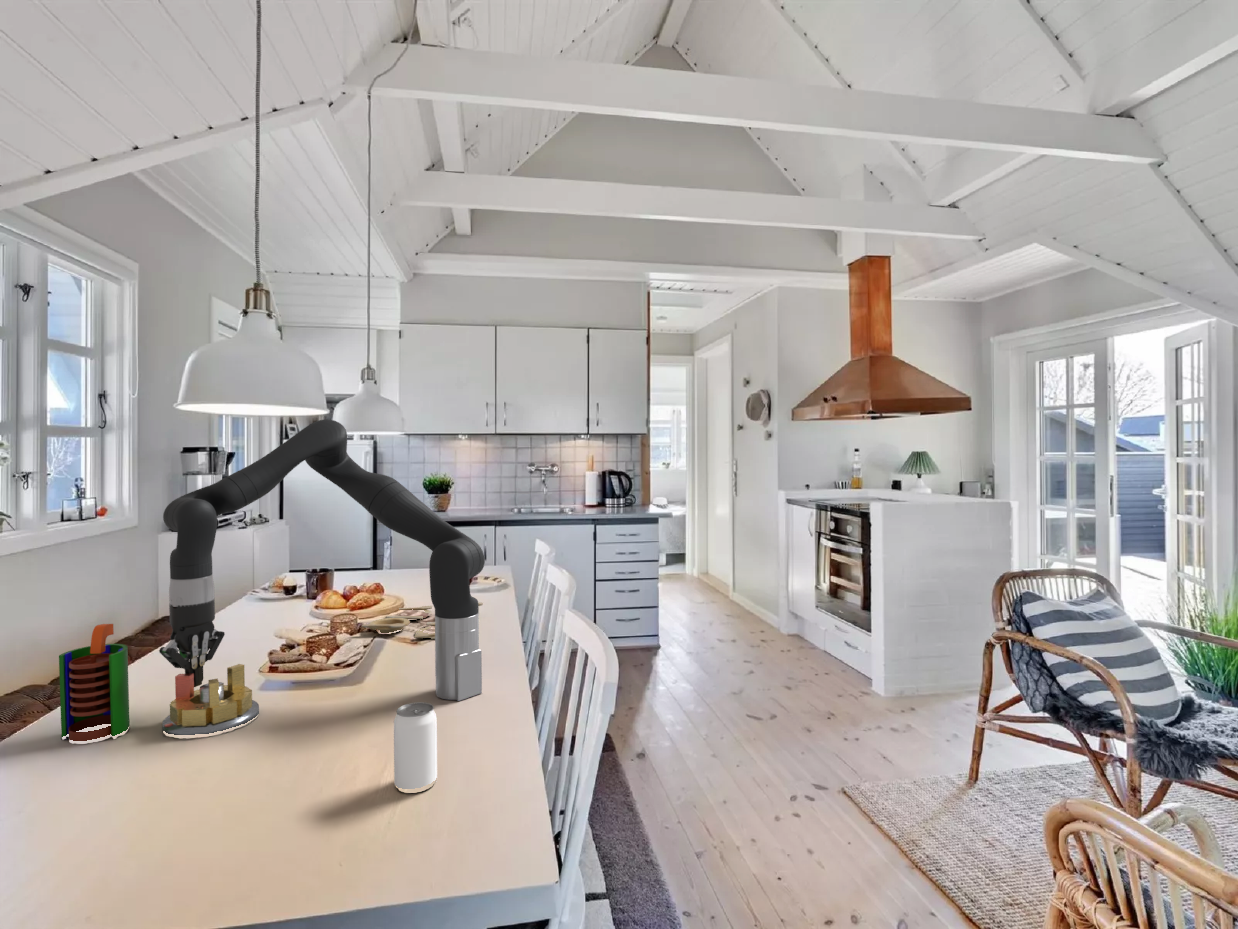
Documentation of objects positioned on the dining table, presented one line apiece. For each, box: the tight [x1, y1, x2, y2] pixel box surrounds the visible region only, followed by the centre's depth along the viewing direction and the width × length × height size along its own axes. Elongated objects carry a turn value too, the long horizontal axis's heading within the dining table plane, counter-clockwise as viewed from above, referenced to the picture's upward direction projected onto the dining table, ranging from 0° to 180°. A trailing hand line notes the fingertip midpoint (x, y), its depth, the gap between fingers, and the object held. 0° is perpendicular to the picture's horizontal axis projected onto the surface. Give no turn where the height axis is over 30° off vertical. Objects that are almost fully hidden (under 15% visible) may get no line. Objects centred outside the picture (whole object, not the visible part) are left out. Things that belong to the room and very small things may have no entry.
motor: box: [58, 623, 131, 741], centre depth 123 cm, size 10×9×20 cm
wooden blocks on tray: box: [169, 663, 253, 726], centre depth 129 cm, size 13×13×8 cm
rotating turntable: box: [162, 681, 260, 735], centre depth 129 cm, size 16×16×7 cm
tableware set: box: [361, 602, 484, 640], centre depth 200 cm, size 35×29×4 cm
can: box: [393, 701, 438, 789], centre depth 104 cm, size 6×6×12 cm
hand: (194, 685), depth 131 cm, fingers closed
